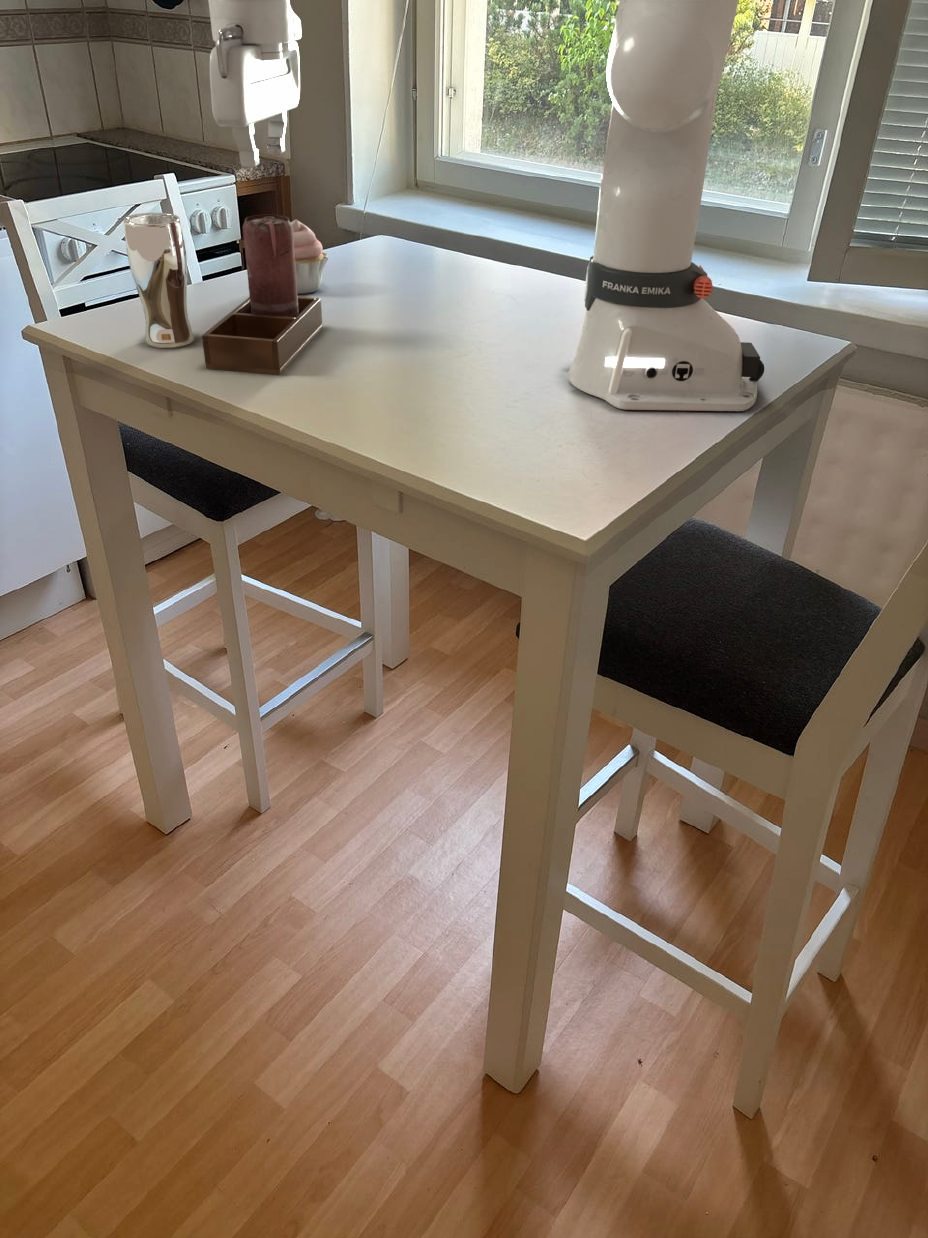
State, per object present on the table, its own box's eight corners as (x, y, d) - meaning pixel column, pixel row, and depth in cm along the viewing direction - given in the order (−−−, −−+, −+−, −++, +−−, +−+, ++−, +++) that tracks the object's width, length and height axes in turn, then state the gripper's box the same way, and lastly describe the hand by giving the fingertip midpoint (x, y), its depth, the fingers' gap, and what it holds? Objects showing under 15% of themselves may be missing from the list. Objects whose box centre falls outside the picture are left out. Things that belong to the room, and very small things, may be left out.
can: (263, 341, 122) (252, 225, 114) (246, 326, 126) (234, 215, 119) (307, 334, 125) (300, 221, 117) (289, 320, 129) (280, 210, 121)
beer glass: (183, 351, 120) (165, 226, 112) (132, 346, 121) (110, 222, 113) (206, 334, 126) (190, 214, 117) (157, 330, 127) (138, 210, 118)
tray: (322, 328, 129) (320, 298, 127) (280, 374, 115) (277, 341, 112) (256, 323, 130) (253, 292, 128) (205, 368, 116) (201, 335, 113)
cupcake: (298, 301, 139) (293, 229, 133) (255, 288, 144) (249, 218, 138) (343, 288, 145) (340, 219, 140) (301, 276, 150) (296, 209, 144)
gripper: (245, 29, 97) (259, 176, 105) (305, 20, 114) (313, 148, 122) (187, 27, 98) (205, 173, 106) (255, 19, 115) (266, 145, 122)
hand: (264, 159), depth 114 cm, fingers open, 8 cm apart
